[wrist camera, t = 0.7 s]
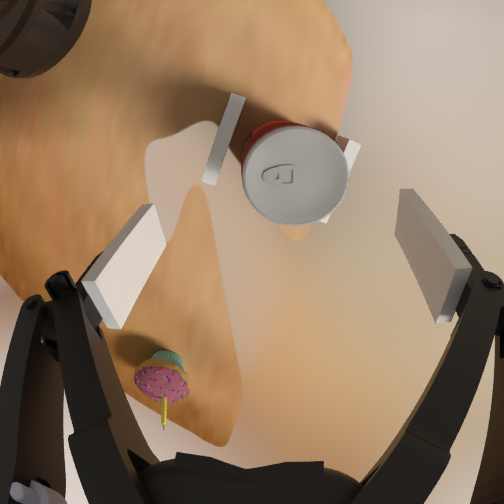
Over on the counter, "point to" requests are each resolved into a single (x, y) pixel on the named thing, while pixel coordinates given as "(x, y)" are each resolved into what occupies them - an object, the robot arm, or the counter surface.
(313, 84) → the counter surface
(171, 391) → the cupcake
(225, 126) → the channel
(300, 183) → the canned food
